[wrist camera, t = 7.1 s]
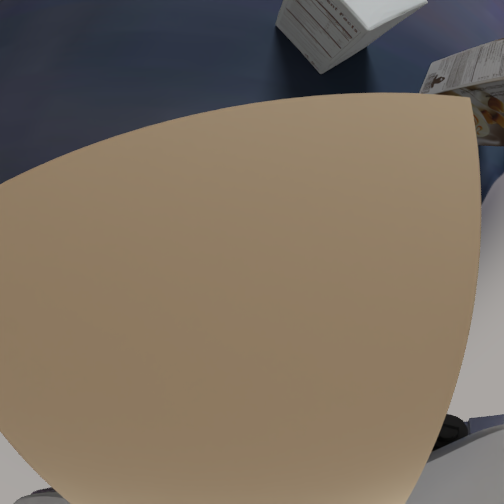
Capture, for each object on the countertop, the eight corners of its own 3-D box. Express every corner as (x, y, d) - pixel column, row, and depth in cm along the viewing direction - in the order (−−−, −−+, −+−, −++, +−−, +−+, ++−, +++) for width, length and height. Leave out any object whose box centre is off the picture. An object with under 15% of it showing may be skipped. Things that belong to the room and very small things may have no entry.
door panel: (186, 167, 12) (-91, 243, 1) (257, 153, 12) (466, 97, 1) (248, 412, 16) (263, 601, 5) (297, 403, 16) (342, 588, 5)
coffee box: (478, 108, 27) (574, 104, 12) (464, 146, 29) (567, 156, 13) (430, 60, 25) (527, 29, 10) (413, 99, 27) (521, 78, 12)
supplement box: (324, -3, 23) (367, -65, 11) (368, 47, 25) (432, 3, 13) (271, 24, 24) (295, -44, 12) (318, 77, 26) (371, 32, 14)
